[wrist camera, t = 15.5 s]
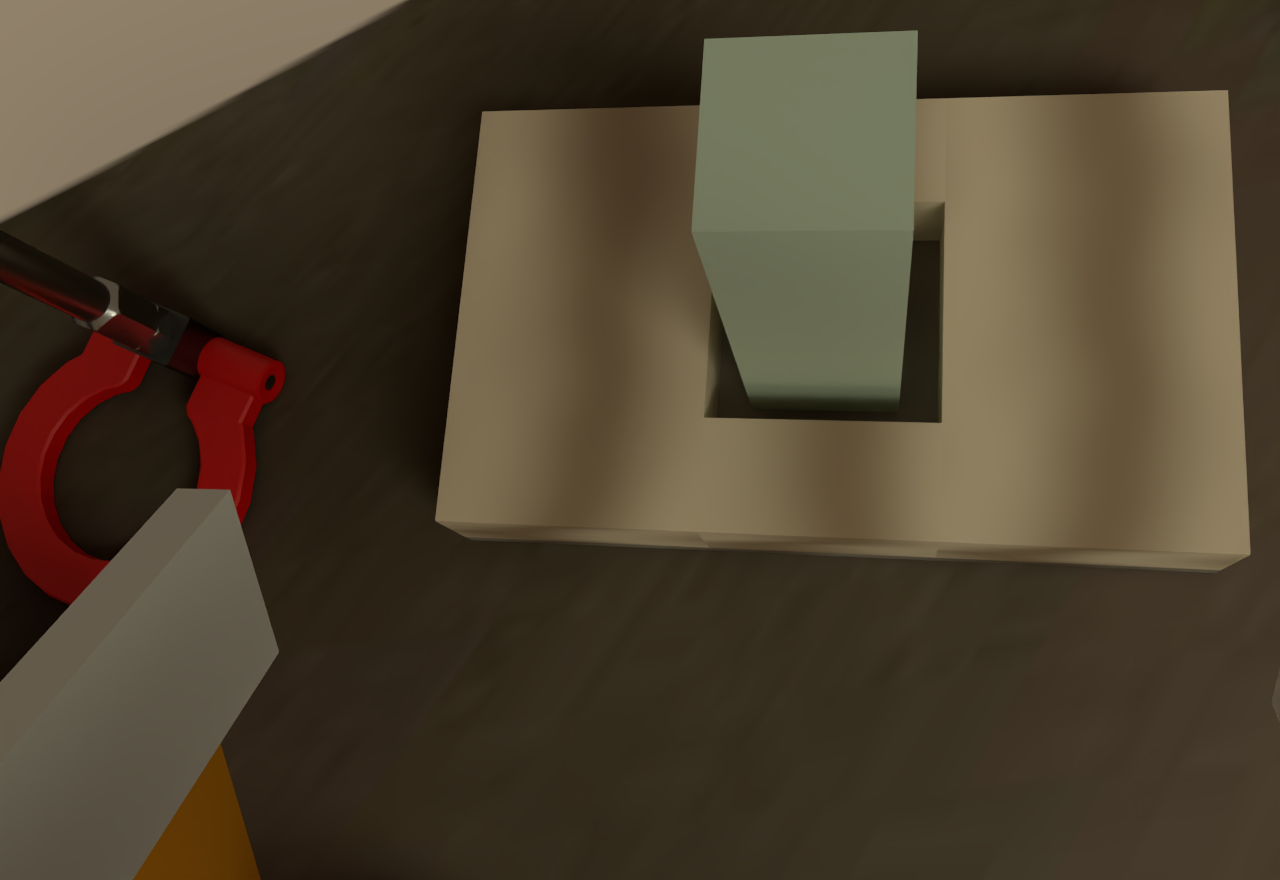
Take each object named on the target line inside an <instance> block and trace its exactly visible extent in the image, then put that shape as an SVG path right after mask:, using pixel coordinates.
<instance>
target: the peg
mask: <svg viewBox="0 0 1280 880" xmlns="http://www.w3.org/2000/svg"><path fill="white" fill-rule="evenodd" d="M917 40H918V31H894V32H869V33H844V34H818V35H793V36H768V37H743V38H718V39H704V52H703V67H702V82H701V97H700V111H699V126H698V141H697V156H696V170H695V185H694V200H693V215H692V230H691V232H692V235H693V238H694V241H695V244H696V247H697V250H698V253H699V256H700V258H701V261H702V264H703V267H704V270H705V273H706V276H707V279H708V282H709V285H710V288H711V290H712V293H713V296H714V299H715V302H716V305H717V308H718V311H719V314H720V317H721V320H722V322H723V325H724V328H725V331H726V334H727V337H728V340H729V343H730V346H731V349H732V352H733V354H734V357H735V360H736V363H737V366H738V369H739V372H740V375H741V378H742V381H743V384H744V386H745V389H746V392H747V395H748V398H749V401H750V404H751V407H752V409H776V410H823V411H871V412H899V401H900V389H901V377H902V365H903V353H904V341H905V329H906V317H907V304H908V292H909V280H910V268H911V256H912V244H913V232H914V190H915V140H916V90H917Z"/></svg>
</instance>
